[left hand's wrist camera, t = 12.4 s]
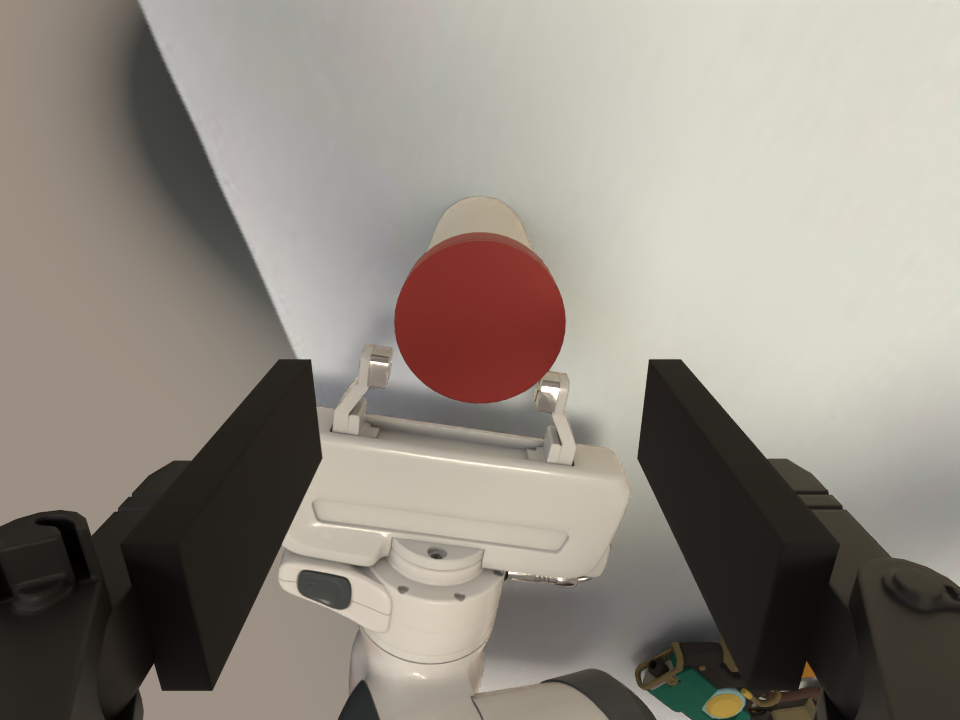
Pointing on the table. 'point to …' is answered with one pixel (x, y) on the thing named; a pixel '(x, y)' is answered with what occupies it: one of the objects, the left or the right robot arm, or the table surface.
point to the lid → (479, 318)
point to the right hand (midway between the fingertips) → (466, 362)
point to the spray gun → (716, 686)
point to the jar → (479, 220)
